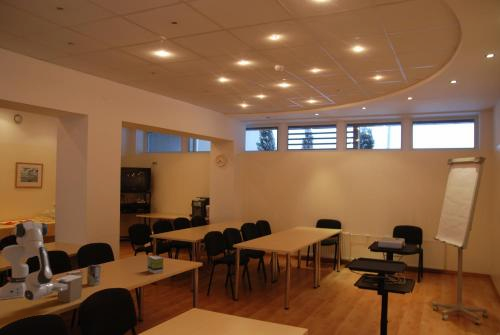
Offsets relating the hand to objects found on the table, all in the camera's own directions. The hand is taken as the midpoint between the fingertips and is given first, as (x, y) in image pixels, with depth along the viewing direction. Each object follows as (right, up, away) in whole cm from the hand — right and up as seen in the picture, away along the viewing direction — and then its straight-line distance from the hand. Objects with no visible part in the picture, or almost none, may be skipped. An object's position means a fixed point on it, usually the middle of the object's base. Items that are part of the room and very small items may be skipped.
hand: (61, 283), depth 284 cm
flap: (+2, +2, +7) cm, 7 cm away
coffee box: (+3, -16, +50) cm, 52 cm away
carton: (+2, -14, +8) cm, 17 cm away
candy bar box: (-3, -15, +26) cm, 30 cm away
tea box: (+45, -18, +98) cm, 109 cm away
